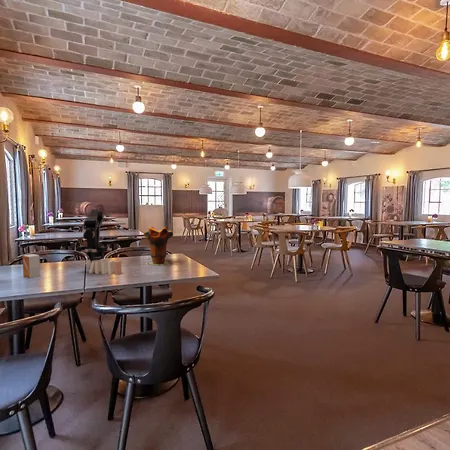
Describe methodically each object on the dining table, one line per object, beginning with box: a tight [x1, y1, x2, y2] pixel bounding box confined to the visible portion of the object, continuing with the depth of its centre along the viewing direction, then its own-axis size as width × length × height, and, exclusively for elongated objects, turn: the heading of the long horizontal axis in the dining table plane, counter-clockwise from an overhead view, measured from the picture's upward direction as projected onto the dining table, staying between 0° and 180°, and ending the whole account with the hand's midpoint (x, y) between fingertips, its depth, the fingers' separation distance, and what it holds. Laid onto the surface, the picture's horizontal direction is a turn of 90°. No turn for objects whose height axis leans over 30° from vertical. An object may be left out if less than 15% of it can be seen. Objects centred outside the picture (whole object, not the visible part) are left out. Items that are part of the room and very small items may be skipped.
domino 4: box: [107, 259, 116, 275], centre depth 201 cm, size 5×2×8 cm, turn 169°
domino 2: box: [94, 259, 103, 275], centre depth 202 cm, size 5×2×8 cm, turn 169°
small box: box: [21, 253, 41, 279], centre depth 193 cm, size 8×6×13 cm
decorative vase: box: [142, 226, 174, 267], centre depth 232 cm, size 21×23×28 cm
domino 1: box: [88, 260, 97, 274], centre depth 203 cm, size 5×2×8 cm, turn 169°
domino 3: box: [101, 259, 109, 275], centre depth 201 cm, size 5×2×8 cm, turn 169°
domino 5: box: [114, 259, 122, 276], centre depth 200 cm, size 5×2×8 cm, turn 168°
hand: (92, 262), depth 203 cm, fingers closed
